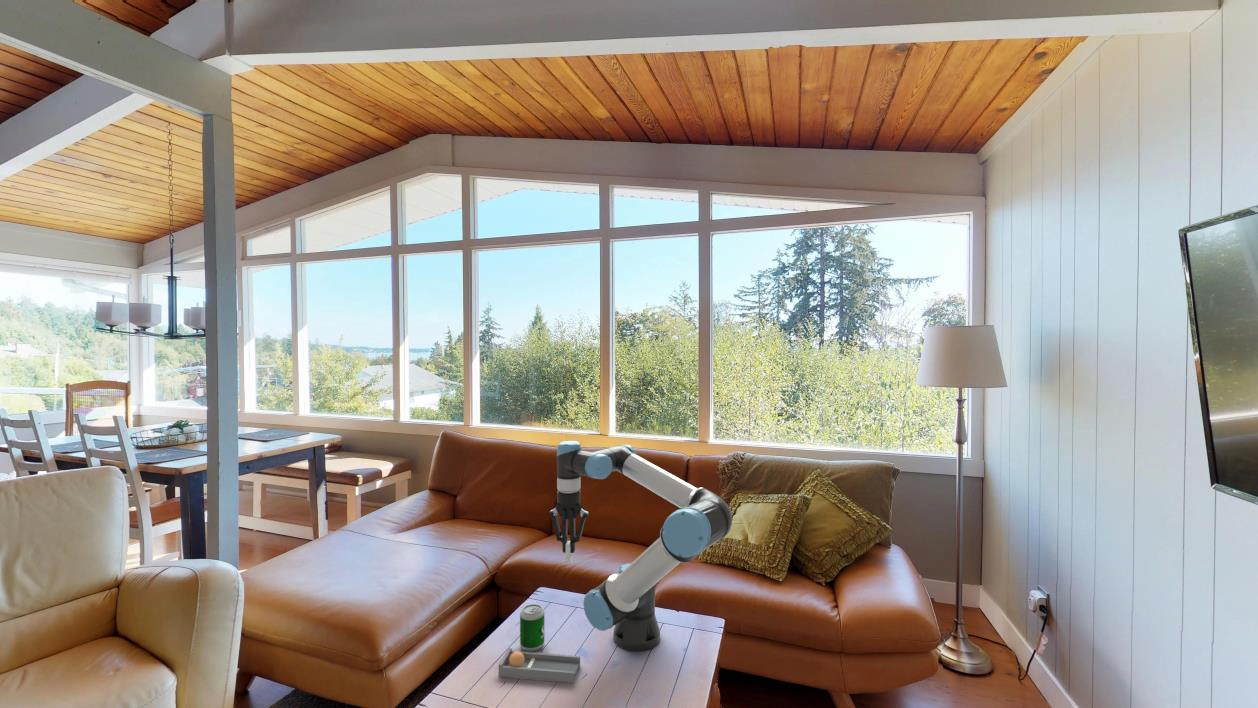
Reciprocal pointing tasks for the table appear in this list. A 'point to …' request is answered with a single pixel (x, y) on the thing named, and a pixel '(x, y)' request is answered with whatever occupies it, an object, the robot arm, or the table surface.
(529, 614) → the soda can
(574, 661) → the lane
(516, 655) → the ball
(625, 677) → the table surface
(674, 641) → the table surface
